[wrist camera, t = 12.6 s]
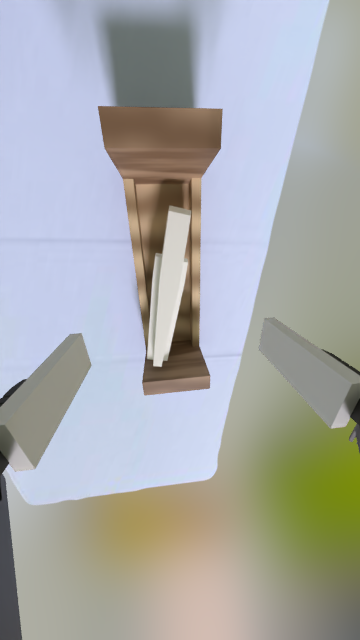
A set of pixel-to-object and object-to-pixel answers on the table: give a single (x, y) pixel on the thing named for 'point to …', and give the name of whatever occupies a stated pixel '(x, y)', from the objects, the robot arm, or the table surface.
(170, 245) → the shelf bracket
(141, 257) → the cradle
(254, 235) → the table surface
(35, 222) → the table surface
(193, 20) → the table surface
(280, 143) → the table surface
